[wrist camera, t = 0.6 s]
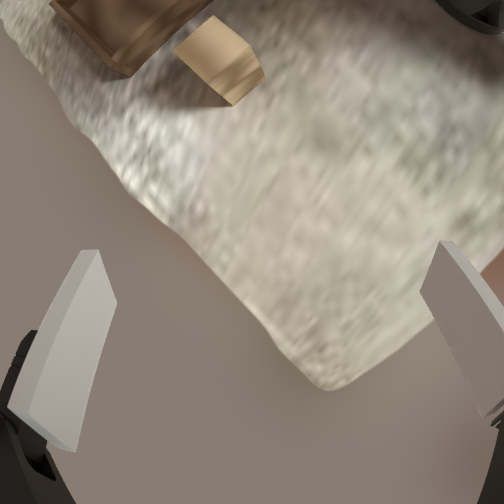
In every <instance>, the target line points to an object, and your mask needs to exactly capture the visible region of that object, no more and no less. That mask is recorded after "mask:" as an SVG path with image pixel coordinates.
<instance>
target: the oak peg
mask: <svg viewBox="0 0 504 504" xmlns="http://www.w3.org/2000/svg"><path fill="white" fill-rule="evenodd" d="M173 52H174V53H175V54H176V55H177V56H178V57H179V58H180V59H181V60H182V61H183V62H185V63H186V64H187V65H188V66H189V67H190V68H191V69H192V70H193V71H194V72H195V73H196V74H197V75H198V76H199V77H200V78H202V79H203V80H204V81H205V82H206V83H207V84H208V85H209V86H210V87H212V88H213V89H214V90H215V91H216V92H218V93H219V94H220V95H221V96H222V97H223V98H225V99H226V100H227V101H228V102H229V103H230V104H231V105H233V106H234V105H235V104H237V103H238V102H239V101H240V100H241V99H242V98H243V97H244V96H246V95H247V94H248V93H249V92H250V91H251V90H252V89H254V88H255V87H256V86H257V85H258V84H259V83H261V82H262V81H263V80H264V79H265V78H266V77H265V75H264V73H263V71H262V69H261V66H260V64H259V62H258V60H257V58H256V56H255V54H254V52H253V50H252V48H251V46H250V45H249V44H248V43H247V42H246V41H245V40H243V39H242V38H241V37H240V36H239V35H238V34H236V33H235V32H234V31H233V30H231V29H230V28H229V27H228V26H226V25H225V24H224V23H223V22H221V21H220V20H219V19H218V18H216V17H215V16H214V15H213V16H212V17H210V18H209V19H208V20H207V21H205V22H204V23H203V24H202V25H201V26H200V27H198V28H197V29H196V30H195V31H194V32H193V33H192V34H190V35H189V36H188V37H187V38H186V39H185V40H184V41H183V42H182V43H180V44H179V45H178V46H177V47H176V48H175V49H174V50H173Z"/></svg>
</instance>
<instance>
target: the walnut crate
mask: <svg viewBox="0 0 504 504" xmlns="http://www.w3.org/2000/svg"><path fill="white" fill-rule="evenodd" d="M212 1H213V0H52V1H51V2H50V3H49V5H50V6H51V7H52V8H53V9H54V10H55V11H56V12H57V13H58V14H59V15H60V16H61V17H62V18H63V19H64V20H65V21H66V22H67V23H68V24H69V26H70V27H71V28H72V29H73V30H74V31H75V32H76V33H77V34H78V35H79V36H80V37H81V38H82V39H83V40H84V41H85V42H86V44H87V45H88V46H89V47H90V48H91V49H92V50H93V51H94V52H95V53H96V54H97V55H98V56H99V57H100V58H101V60H102V61H103V62H104V63H105V64H106V65H107V66H108V67H109V68H110V69H113V70H115V71H117V72H119V73H122V74H124V75H126V76H128V77H130V78H131V76H132V75H133V74H134V73H135V72H136V71H137V70H138V69H139V68H140V67H141V66H142V65H143V64H144V63H145V62H146V61H147V59H148V58H149V57H150V56H151V55H152V54H153V53H154V52H155V51H156V50H157V49H158V48H159V47H160V46H162V45H163V44H164V43H165V42H166V41H167V40H168V39H169V38H170V37H171V36H172V35H173V34H174V33H175V32H176V31H178V30H179V29H180V28H181V27H182V26H183V25H184V24H185V23H186V22H188V21H189V20H190V19H191V18H192V17H193V16H195V15H196V14H197V13H198V12H199V11H201V10H202V9H203V8H204V7H206V6H207V5H208V4H209V3H211V2H212Z"/></svg>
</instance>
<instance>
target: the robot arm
mask: <svg viewBox="0 0 504 504" xmlns="http://www.w3.org/2000/svg"><path fill="white" fill-rule="evenodd" d="M436 1H437V2H438V3H439V4H440V5H441V6H442V7H443V8H444V9H445V10H446V11H447V12H448V13H449V14H450V15H452V16H453V17H454V18H456V19H457V20H458V21H460V22H461V23H463V24H465V25H466V26H468V27H470V28H472V29H474V30H477V31H479V32H482V33H487V34H499V33H502V32H503V31H504V0H436ZM420 293H421V295H422V297H423V299H424V300H425V302H426V304H427V306H428V307H429V309H430V311H431V313H432V315H433V317H434V318H435V320H436V322H437V324H438V326H439V328H440V330H441V332H442V333H443V336H444V337H445V339H446V341H447V343H448V345H449V347H450V349H451V351H452V353H453V356H454V357H455V360H456V362H457V364H458V366H459V368H460V370H461V372H462V375H463V377H464V379H465V381H466V383H467V386H468V388H469V390H470V393H471V395H472V397H473V400H474V402H475V405H476V407H477V410H478V412H479V415H480V417H481V419H482V418H484V417H486V416H489V415H491V414H493V413H495V412H496V411H497V410H498V409H500V408H501V407H502V406H503V405H504V307H503V306H502V305H501V303H500V302H499V300H498V299H497V297H496V296H495V294H494V293H493V292H492V290H491V289H490V287H489V286H488V285H487V283H486V282H485V281H484V279H483V278H482V277H481V275H480V274H479V273H478V271H477V270H476V269H475V267H474V266H473V265H472V263H471V262H470V261H469V260H468V258H467V257H466V256H465V255H464V253H463V252H462V251H461V250H460V249H459V247H458V246H457V245H456V244H455V243H454V241H439V243H438V246H437V249H436V252H435V254H434V257H433V260H432V262H431V265H430V267H429V270H428V272H427V275H426V277H425V280H424V282H423V285H422V287H421V289H420ZM116 306H117V301H116V298H115V296H114V293H113V290H112V287H111V285H110V282H109V279H108V276H107V274H106V271H105V267H104V265H103V262H102V259H101V255H100V252H99V250H98V249H94V250H81V251H80V253H79V255H78V256H77V258H76V260H75V261H74V263H73V265H72V267H71V268H70V270H69V272H68V274H67V275H66V277H65V279H64V281H63V283H62V284H61V286H60V288H59V290H58V292H57V294H56V296H55V298H54V299H53V301H52V303H51V305H50V307H49V309H48V311H47V313H46V315H45V317H44V319H43V321H42V323H41V326H40V328H39V330H38V331H37V330H31V331H30V332H29V333H28V334H27V335H26V336H25V338H24V339H23V340H22V341H21V343H20V345H19V348H18V350H17V352H16V357H14V359H13V361H12V364H11V365H12V366H11V367H10V368H9V370H8V373H7V375H6V378H5V380H4V383H3V385H2V388H1V390H0V504H76V503H75V501H74V499H73V498H72V496H71V494H70V492H69V490H68V489H67V487H66V485H65V483H64V481H63V479H62V477H61V475H60V473H59V471H58V469H57V467H56V465H55V463H54V461H53V459H52V457H51V454H50V452H49V451H48V450H47V449H46V444H47V441H48V442H49V443H51V444H52V445H53V446H55V447H57V448H60V449H63V450H67V451H71V452H75V453H76V451H77V446H78V441H79V436H80V431H81V427H82V423H83V418H84V414H85V410H86V405H87V402H88V398H89V394H90V390H91V387H92V383H93V379H94V376H95V372H96V369H97V365H98V362H99V358H100V355H101V351H102V348H103V345H104V342H105V339H106V336H107V333H108V329H109V327H110V324H111V320H112V317H113V315H114V311H115V309H116ZM500 420H501V422H500V423H499V424H498V425H497V426H496V428H498V429H499V432H498V436H497V441H496V445H495V449H494V452H493V456H492V460H491V463H490V467H489V470H488V474H487V477H486V480H485V483H484V486H483V489H482V492H481V494H480V497H479V500H478V502H477V504H504V411H503V412H502V413H501V414H499V415H498V416H497V417H496V418H495V419H494V420H493V421H492V423H491V426H494V425H495V424H496V423H497V422H498V421H500Z"/></svg>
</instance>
